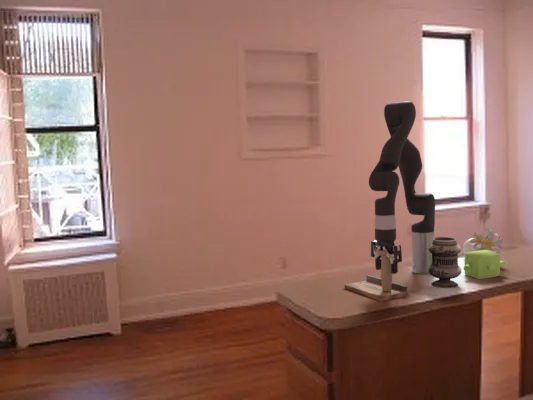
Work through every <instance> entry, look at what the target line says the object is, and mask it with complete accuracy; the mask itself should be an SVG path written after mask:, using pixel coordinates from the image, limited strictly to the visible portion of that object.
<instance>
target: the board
mask: <svg viewBox="0 0 533 400" xmlns="http://www.w3.org/2000/svg"><path fill="white" fill-rule="evenodd" d="M382 287H383V286H382V283H381V277H378V276H374V275H371V274H368V275H366V280H362V281H355V282H351V283H346V284H344V289H346V290H348V291H351V292H354V293H357V294H360V295H363V296H366V297H369V298H371V299H374V300H377V301H380V302H384V301H390V300H394V299H399V298H403V297H407V296H409V291H408V290H409V289H408V286H407V285H404V284H402V283H398V282H394V281H392V286H391V287H392V289H391V291H383V290H382Z"/></svg>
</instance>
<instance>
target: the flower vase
mask: <svg viewBox="0 0 533 400" xmlns="http://www.w3.org/2000/svg"><path fill="white" fill-rule="evenodd" d="M482 227H483V228H484V230H485V232H486V234H487V236H486V237H485V236H483V233H482V232H481V233H479V234H478V233H477V232H476V231H474V232H473V237H474V238H473V237H470V238H468V239H466V240H465V241H464V243H463V245H462V251H463V254H465V253H467V252H473V251H480V250H489V251H492V252H495V253H497V254H501V253H502V252H504V249H503V246H502V245H501V244H502V243H503V239H502V238H501V233H498V232H495V231H492V228H491V227H489V226H487V227H486V226H485V225H482ZM494 236H496V237H497V238H496V239H495V241H493V240H494ZM496 247H497V248H498V250H496V251H493V248H496Z"/></svg>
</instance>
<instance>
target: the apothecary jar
mask: <svg viewBox="0 0 533 400" xmlns="http://www.w3.org/2000/svg"><path fill="white" fill-rule="evenodd" d="M428 249H429V252H430V253H432V264H431V265H430V266H429V268H428V272H429V273H430V276H432V277H434V278H437V280H434V281H432V282H431V286H433V287H435V288H439V289H450V288H457V287H458V286H459V283H457V282H456V281H454V280H451V279H456V278H458V277H459V276H460V275H461V274H462V268H461V267H460V266H459V263H458V262H459V261H458V260H459V259H458V258H459V257H458V255H459V254H460V252H461V251H462V247H461V246H460V244H458V242H457V238H456V237H452V236H436V237H435V236H434V238H433V242H432V244H431V245H430V246H429V248H428Z"/></svg>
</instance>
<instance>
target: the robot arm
mask: <svg viewBox="0 0 533 400" xmlns="http://www.w3.org/2000/svg"><path fill="white" fill-rule="evenodd" d="M383 114H384V115H383V117H384V120H385V124H386V127H387V130H388V133H389V135H390V138H388V140H386V141H385V143H384V145H383V147H382V150H381V153H380V156H379V160H378V162H377V164H376V165H375V167H374V168H373V170H372V171H371V173H370V175H369V178H368V185H369V188H370V189H371V190H372V191H374V192H387V193H386V195H385V196H383V197H378V198H376V199H374V200H375V201H374V240H373V241H370V257H371V258H373V259H374V261H375V262H374V263H375V264H374V265H375V266H374V267H375V270H376V271H379V270H380V271H381V261H382V258H381V256H380V255H379V254H377V250H384V251H386V255H387V257H388V258H389V259H390V261H391V273H392V275H396V274H397V273H398V268H399V267H398V265H399V263H401V262H403V256H402V255H403V254H402V253H403V252H402V245H401V244H399V245H398V244H397V245H395V244H396V243H395V241H396V240H397V220H396V219H397V218H396V205H395V204H396V199H397V198H396V197H397V193H398V189H399V186H400V177H401V181H402V185H403V190H404V197H405V204H406V209H407V211H408V213H409V214H410V215H411V216H423V219H422V220H421V221H418V222H416V223H413V224H412V225H411V226H410V231H411V235H410V237H411V265H412V266H411V268H412V269H411V271H412V273H414V274H420V275H428V274H430V273H429V272H428V268H429V266H430V265H431V264H432V253H430V252H429V249H428V248H429V246H430V245H431V244H432V242H433V238H435V224H436V222H435V219H436V218H435V217H436V198H435V196H434V194H433V193H429V192H422V193H421V192H418V193H417V192H416V190H415V189H416V188H415V187H416V182H417V180H418V178H419V176H420V174H421V172H422V169H423V162H422V158H421V152H420V150H419V149H418V147H417V146H416V145H415V144H414V143H413V142H412V141H411V140H410V139H409V135H410V133H411V131H412V128H413V126H414V123H415V121H416V116H417V110H416V106H415V104H414V102H413V101H409V100H407V101H406V100H404V101H395V102H389V103H386V104H385V105H384V109H383ZM397 169H399V174H400V177H399V174H398V173H397V172H396V170H397ZM392 253H393V255H390V254H392Z"/></svg>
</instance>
